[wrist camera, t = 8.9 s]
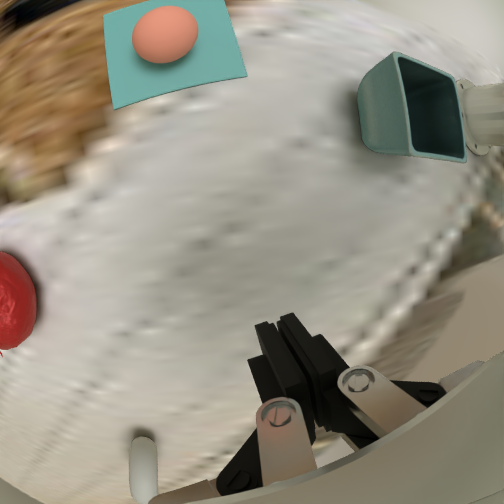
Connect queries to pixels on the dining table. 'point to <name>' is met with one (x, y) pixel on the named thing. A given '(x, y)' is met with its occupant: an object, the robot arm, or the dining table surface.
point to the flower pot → (411, 110)
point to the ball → (165, 34)
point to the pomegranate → (15, 303)
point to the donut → (143, 470)
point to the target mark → (176, 72)
